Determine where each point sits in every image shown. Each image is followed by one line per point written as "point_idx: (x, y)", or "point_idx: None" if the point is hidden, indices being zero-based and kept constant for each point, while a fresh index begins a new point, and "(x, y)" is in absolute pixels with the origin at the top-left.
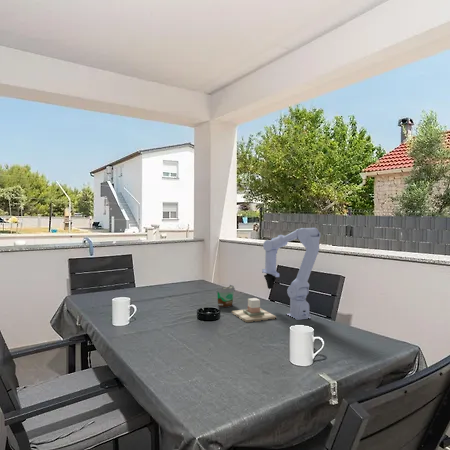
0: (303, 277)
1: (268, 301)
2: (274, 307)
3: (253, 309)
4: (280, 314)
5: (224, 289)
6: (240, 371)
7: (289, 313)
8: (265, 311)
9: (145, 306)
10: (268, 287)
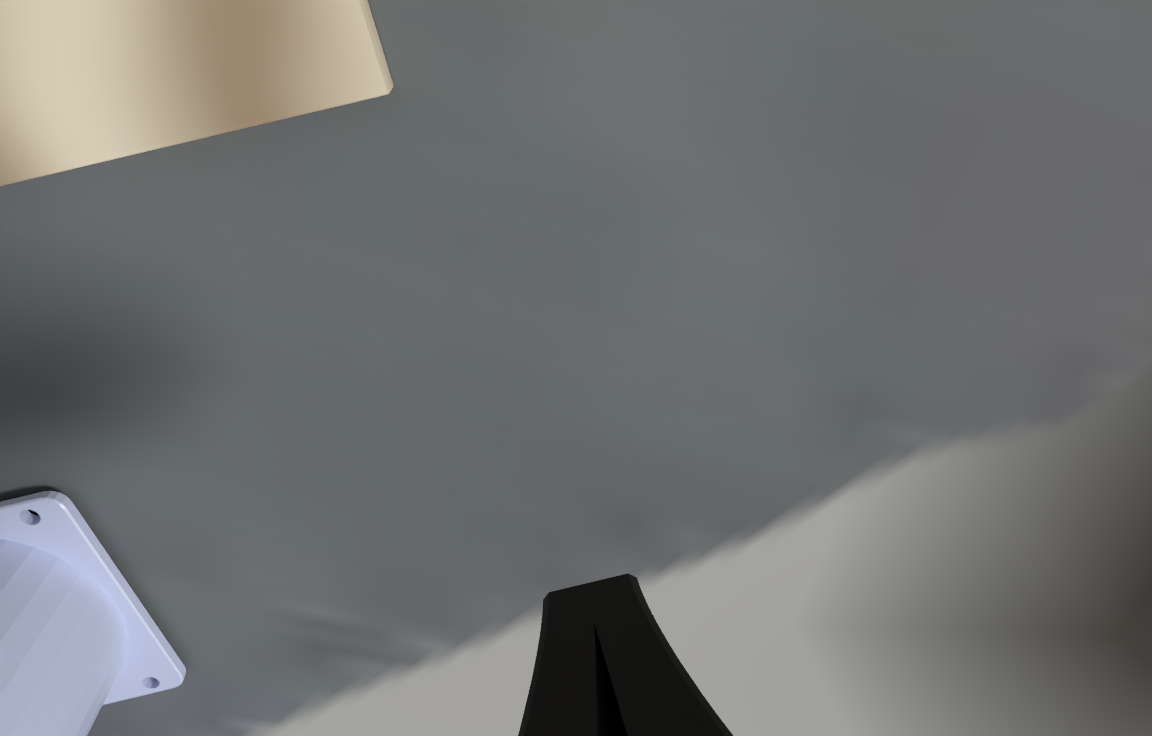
0: None
1: (975, 419)
2: (574, 420)
3: None
4: (93, 405)
5: None
6: None
7: (87, 548)
8: (61, 136)
9: None
10: (579, 609)
